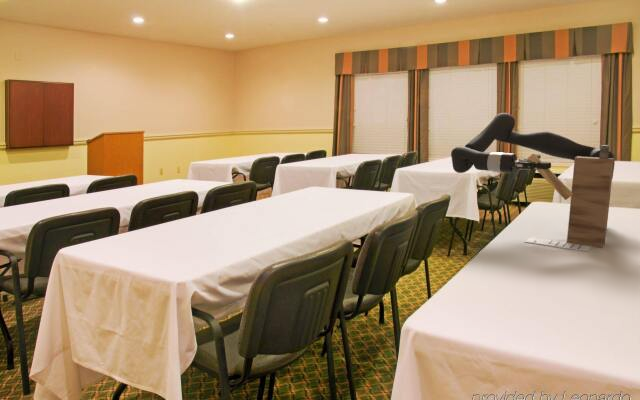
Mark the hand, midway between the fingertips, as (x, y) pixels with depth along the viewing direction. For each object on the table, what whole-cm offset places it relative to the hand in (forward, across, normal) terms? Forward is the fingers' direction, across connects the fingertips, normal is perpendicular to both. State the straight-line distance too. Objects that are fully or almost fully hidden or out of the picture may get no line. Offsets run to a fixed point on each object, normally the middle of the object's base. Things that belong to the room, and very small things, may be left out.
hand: (549, 165), depth 187 cm
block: (-1, 0, -5) cm, 5 cm away
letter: (+5, 0, -29) cm, 29 cm away
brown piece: (+13, -9, -29) cm, 33 cm away
